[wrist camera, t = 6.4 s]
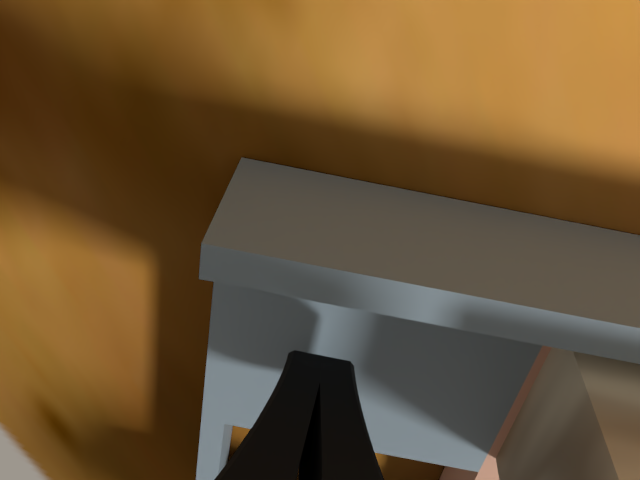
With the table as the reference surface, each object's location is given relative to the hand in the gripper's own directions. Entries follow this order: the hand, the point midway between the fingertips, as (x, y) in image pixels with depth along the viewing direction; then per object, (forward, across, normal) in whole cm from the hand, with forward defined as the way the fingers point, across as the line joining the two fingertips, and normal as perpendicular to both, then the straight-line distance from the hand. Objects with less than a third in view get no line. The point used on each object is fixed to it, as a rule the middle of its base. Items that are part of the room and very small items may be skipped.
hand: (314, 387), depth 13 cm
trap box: (+3, -4, +2) cm, 5 cm away
